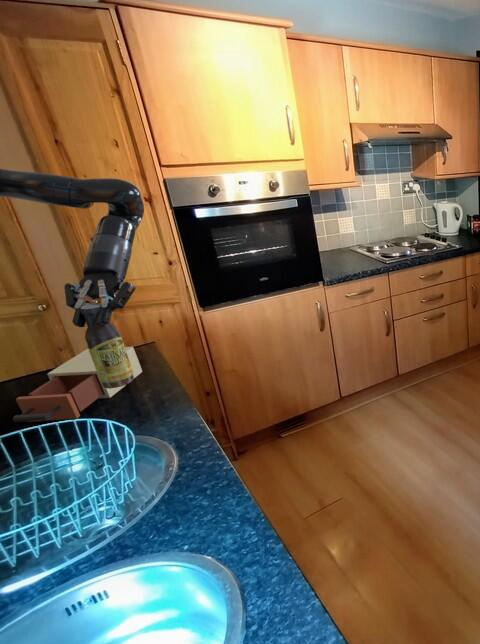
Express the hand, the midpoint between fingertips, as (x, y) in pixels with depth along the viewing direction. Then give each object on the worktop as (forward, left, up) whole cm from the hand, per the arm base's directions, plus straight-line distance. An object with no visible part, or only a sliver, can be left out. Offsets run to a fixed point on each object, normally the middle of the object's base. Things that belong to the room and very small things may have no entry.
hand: (90, 325), depth 100 cm
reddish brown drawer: (+12, +24, -29) cm, 39 cm away
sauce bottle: (+2, 0, -16) cm, 16 cm away
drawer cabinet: (+26, +24, -30) cm, 46 cm away
